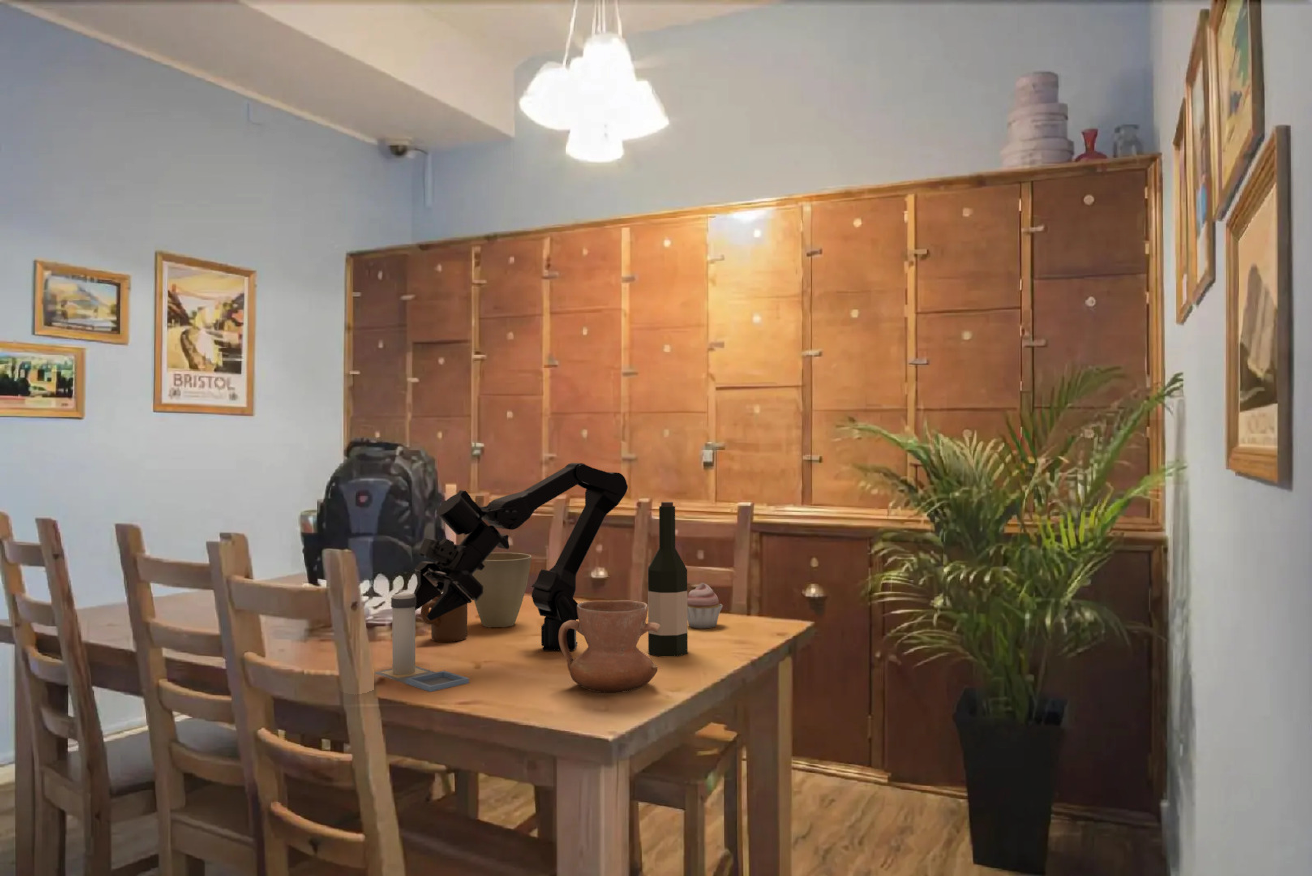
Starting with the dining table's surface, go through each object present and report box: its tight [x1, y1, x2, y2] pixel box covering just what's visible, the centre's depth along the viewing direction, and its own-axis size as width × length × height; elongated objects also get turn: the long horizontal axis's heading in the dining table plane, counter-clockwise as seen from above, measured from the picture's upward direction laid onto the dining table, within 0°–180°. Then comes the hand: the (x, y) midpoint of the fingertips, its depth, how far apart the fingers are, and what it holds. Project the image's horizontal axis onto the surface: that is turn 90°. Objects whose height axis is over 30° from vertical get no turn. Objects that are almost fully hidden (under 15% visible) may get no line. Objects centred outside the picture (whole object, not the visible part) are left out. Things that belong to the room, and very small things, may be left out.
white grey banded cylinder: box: [390, 592, 416, 675], centre depth 164 cm, size 4×4×14 cm
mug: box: [420, 592, 468, 643], centre depth 192 cm, size 12×8×9 cm, turn 151°
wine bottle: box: [647, 501, 689, 657], centre depth 181 cm, size 8×8×30 cm
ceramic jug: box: [558, 599, 661, 694], centre depth 155 cm, size 18×14×14 cm
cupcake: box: [687, 582, 724, 629], centre depth 206 cm, size 9×9×10 cm
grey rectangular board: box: [374, 665, 470, 693], centre depth 160 cm, size 19×8×1 cm, turn 46°
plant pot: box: [473, 552, 533, 628], centre depth 209 cm, size 15×15×16 cm
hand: (418, 615), depth 166 cm, fingers open, 9 cm apart
